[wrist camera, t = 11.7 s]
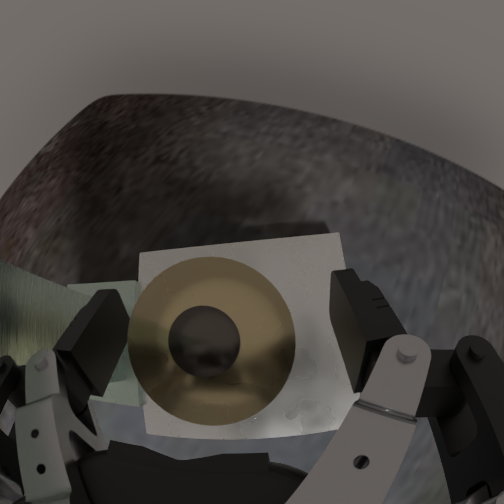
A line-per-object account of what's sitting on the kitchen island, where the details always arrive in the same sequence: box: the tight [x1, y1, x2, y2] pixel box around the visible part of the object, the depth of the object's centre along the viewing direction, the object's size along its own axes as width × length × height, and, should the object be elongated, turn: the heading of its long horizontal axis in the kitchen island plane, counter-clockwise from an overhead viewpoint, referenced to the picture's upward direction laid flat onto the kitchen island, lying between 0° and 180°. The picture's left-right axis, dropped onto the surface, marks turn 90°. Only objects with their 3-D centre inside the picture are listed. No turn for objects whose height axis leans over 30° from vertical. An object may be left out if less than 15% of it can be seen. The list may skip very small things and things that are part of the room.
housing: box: [127, 257, 296, 426], centre depth 11 cm, size 4×4×9 cm
